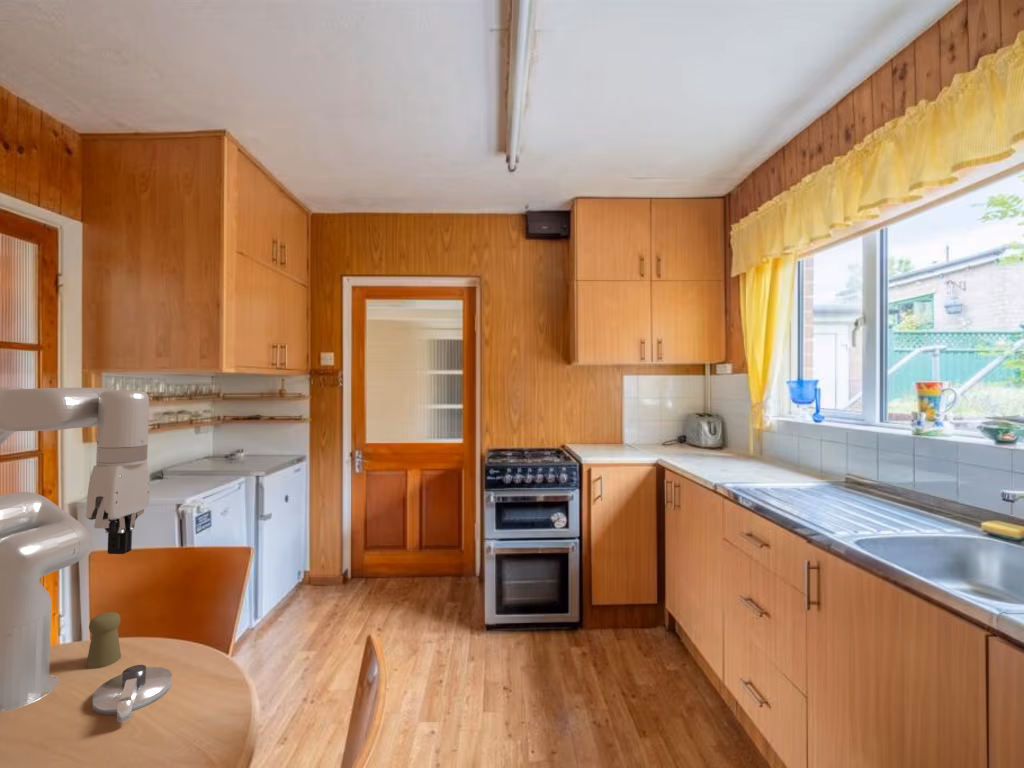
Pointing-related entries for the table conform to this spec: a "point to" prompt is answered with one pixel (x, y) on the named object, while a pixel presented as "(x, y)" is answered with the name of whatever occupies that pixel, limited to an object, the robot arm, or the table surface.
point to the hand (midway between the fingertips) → (119, 552)
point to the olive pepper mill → (104, 640)
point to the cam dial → (131, 691)
